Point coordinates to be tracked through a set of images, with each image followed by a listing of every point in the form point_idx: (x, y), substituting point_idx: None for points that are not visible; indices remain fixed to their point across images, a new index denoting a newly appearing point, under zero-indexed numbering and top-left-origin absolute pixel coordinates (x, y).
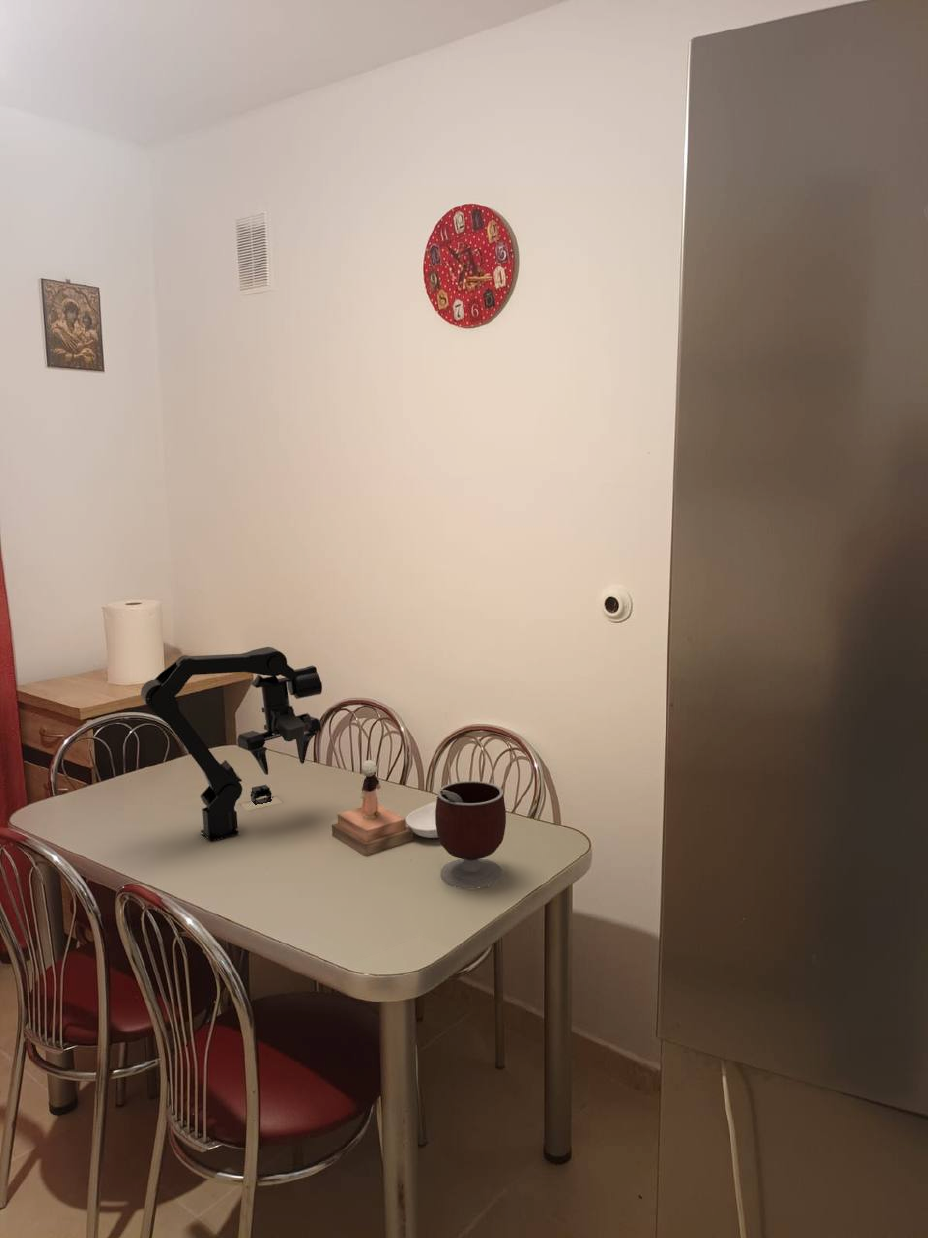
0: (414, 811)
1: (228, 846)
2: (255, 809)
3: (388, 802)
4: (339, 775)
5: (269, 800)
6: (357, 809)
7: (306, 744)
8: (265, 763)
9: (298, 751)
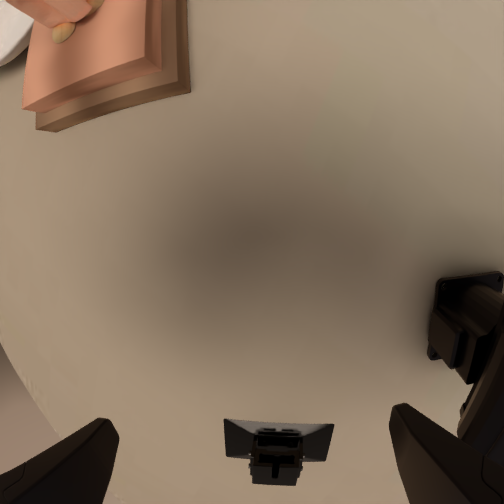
0: (1, 55)
1: (484, 215)
2: (310, 422)
3: (8, 244)
4: None
5: (257, 440)
6: (75, 74)
7: (4, 486)
8: (453, 456)
9: (96, 500)
